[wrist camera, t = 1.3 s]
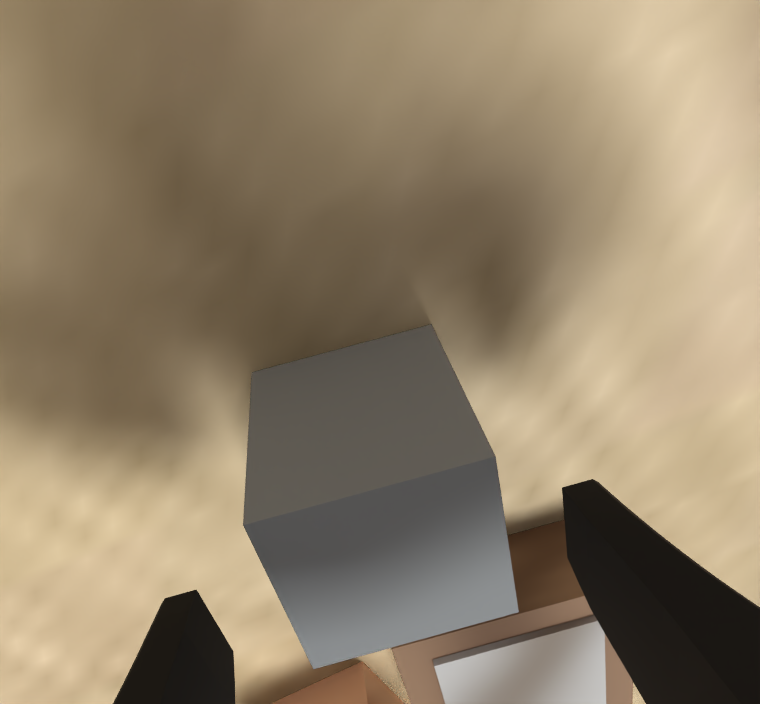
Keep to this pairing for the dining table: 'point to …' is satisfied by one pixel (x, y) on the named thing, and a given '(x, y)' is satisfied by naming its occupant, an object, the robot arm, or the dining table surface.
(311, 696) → the terracotta cube
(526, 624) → the walnut block
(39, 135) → the dining table surface
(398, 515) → the slate cube
